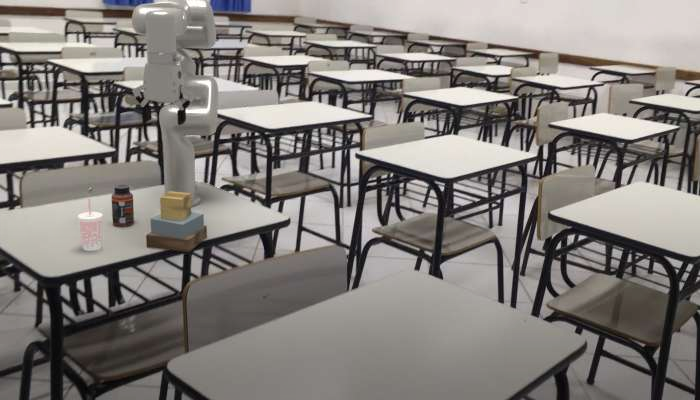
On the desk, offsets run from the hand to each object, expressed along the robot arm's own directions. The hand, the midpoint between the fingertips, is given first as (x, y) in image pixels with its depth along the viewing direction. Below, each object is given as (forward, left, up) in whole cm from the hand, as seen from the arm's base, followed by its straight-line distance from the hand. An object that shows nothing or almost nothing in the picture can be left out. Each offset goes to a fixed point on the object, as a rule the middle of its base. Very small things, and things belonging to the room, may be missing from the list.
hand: (164, 122), depth 188 cm
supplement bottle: (-1, -14, -31) cm, 35 cm away
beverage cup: (+18, -13, -31) cm, 39 cm away
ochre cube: (+8, +6, -24) cm, 26 cm away
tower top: (+8, +7, -28) cm, 30 cm away
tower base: (+8, +6, -32) cm, 33 cm away
